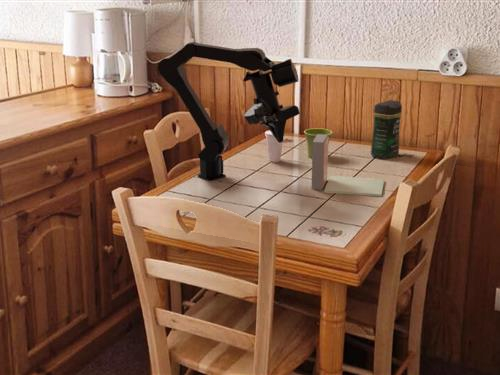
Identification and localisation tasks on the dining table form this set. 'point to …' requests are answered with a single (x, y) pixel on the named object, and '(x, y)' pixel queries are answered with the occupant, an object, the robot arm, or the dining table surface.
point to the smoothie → (273, 147)
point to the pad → (354, 186)
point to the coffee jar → (386, 129)
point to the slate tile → (319, 161)
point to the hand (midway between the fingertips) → (280, 142)
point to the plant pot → (311, 136)
